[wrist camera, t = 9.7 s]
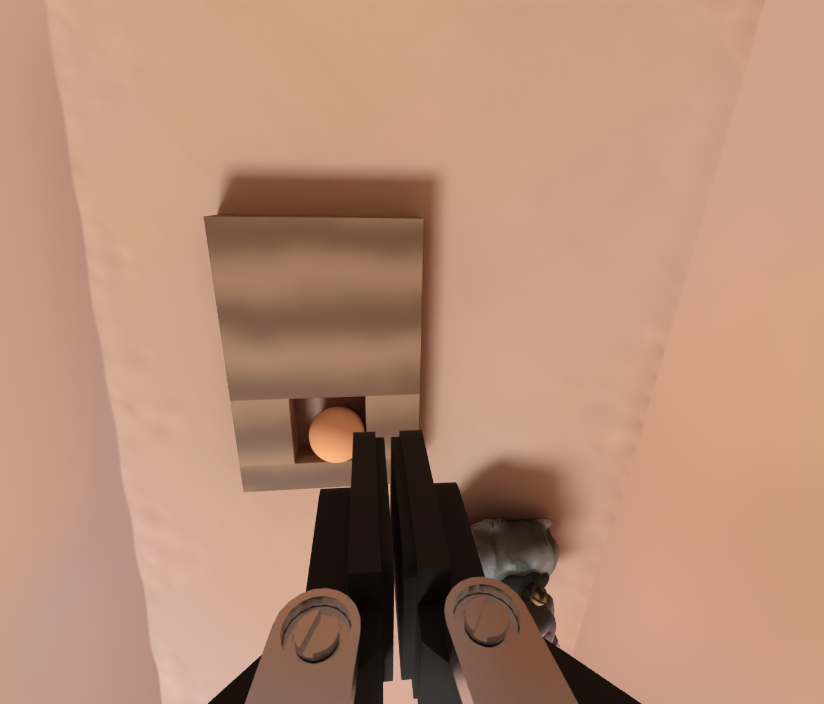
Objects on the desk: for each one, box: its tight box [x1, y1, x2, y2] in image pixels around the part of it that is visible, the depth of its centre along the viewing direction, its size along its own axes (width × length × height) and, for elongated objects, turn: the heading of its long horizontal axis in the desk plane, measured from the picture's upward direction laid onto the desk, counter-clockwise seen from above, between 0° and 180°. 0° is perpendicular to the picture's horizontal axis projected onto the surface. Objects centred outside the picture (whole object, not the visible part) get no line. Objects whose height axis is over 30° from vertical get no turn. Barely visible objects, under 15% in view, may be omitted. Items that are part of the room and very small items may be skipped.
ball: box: [309, 407, 365, 463], centre depth 39 cm, size 5×5×5 cm
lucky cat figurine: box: [470, 517, 560, 647], centre depth 43 cm, size 15×12×14 cm
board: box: [204, 215, 424, 492], centre depth 37 cm, size 24×16×3 cm, turn 179°
